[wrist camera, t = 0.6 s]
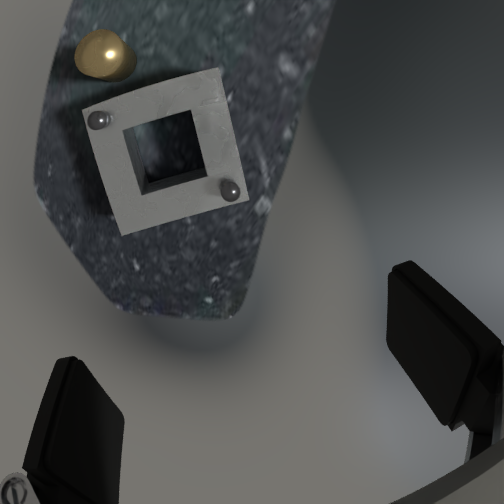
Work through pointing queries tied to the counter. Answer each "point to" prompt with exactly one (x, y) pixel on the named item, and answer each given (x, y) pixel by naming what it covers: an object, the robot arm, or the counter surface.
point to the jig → (178, 186)
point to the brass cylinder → (105, 56)
